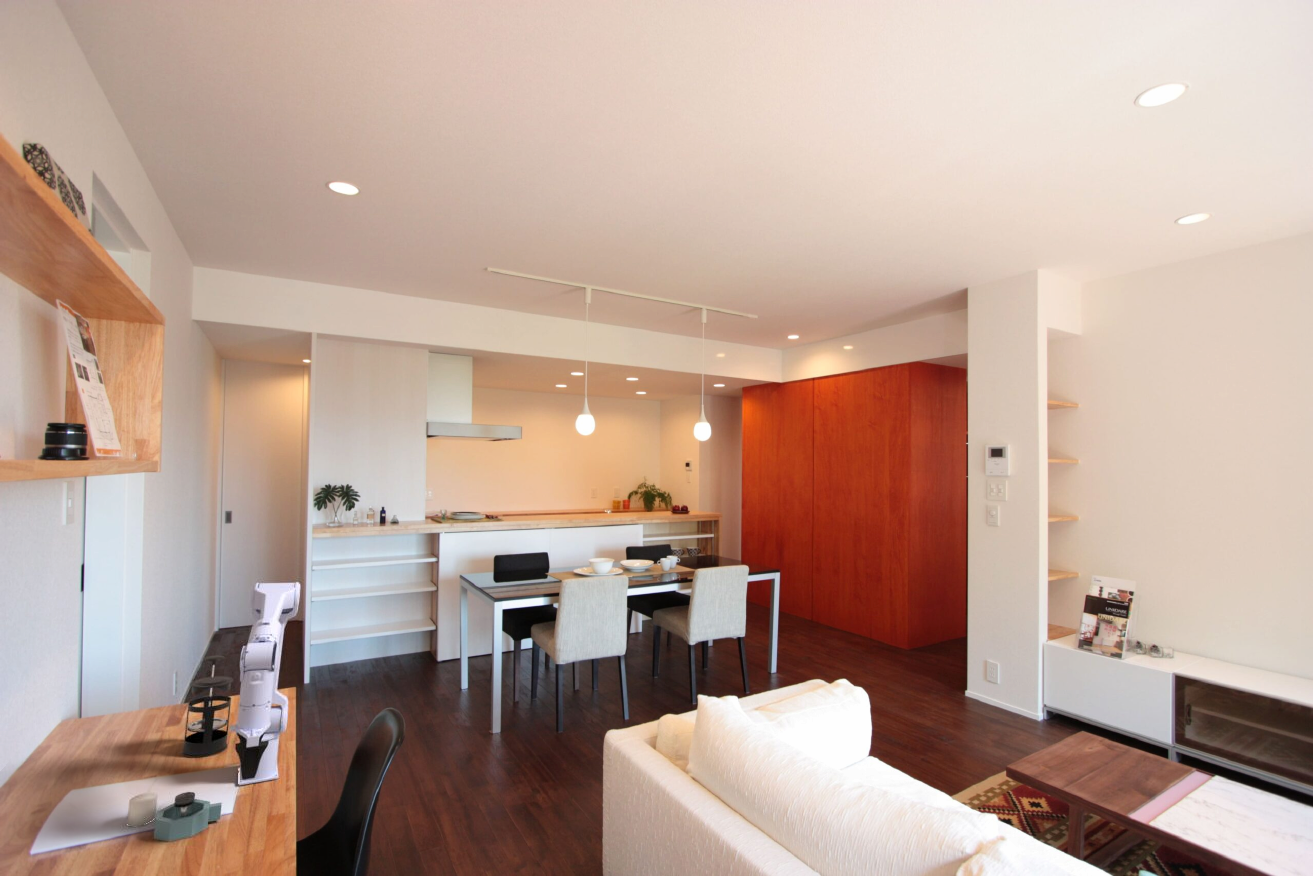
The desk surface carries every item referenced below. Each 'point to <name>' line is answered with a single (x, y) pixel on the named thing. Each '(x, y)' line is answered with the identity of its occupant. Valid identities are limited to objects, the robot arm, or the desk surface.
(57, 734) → the desk surface
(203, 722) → the french press
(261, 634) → the robot arm
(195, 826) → the grey-green octagonal bowl
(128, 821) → the cream rounded block
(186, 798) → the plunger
